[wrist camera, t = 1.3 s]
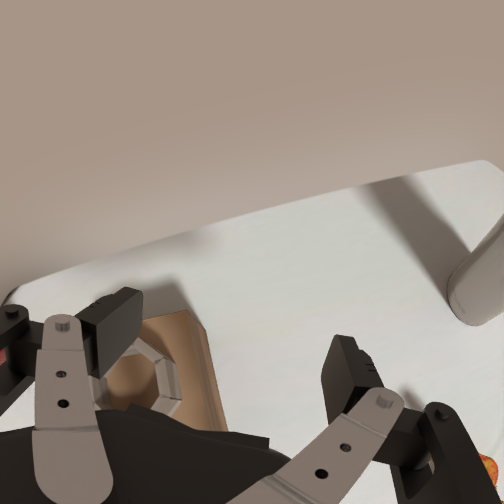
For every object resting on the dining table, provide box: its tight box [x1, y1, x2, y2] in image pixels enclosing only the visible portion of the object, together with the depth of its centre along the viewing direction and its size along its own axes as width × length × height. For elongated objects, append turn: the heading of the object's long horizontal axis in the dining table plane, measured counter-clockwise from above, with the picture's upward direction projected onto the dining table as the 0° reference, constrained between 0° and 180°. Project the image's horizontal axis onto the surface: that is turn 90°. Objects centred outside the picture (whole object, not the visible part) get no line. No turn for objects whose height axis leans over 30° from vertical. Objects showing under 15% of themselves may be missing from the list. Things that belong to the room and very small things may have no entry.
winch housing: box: [88, 310, 228, 432], centre depth 28 cm, size 19×14×11 cm
